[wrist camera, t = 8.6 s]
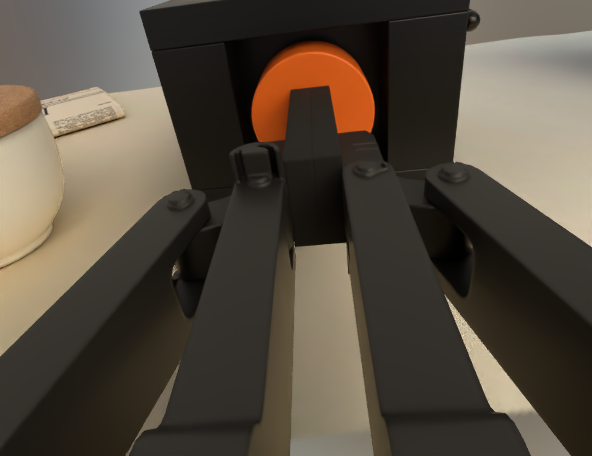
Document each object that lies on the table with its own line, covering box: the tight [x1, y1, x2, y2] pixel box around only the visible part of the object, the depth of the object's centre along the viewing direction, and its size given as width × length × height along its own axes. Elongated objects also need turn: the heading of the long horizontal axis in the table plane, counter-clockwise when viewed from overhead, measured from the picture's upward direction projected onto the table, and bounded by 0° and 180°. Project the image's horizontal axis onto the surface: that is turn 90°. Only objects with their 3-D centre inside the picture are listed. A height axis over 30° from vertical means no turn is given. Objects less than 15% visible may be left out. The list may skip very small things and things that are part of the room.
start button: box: [251, 41, 375, 142], centre depth 17 cm, size 2×5×5 cm, turn 89°
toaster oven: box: [140, 0, 480, 202], centre depth 24 cm, size 17×14×11 cm
